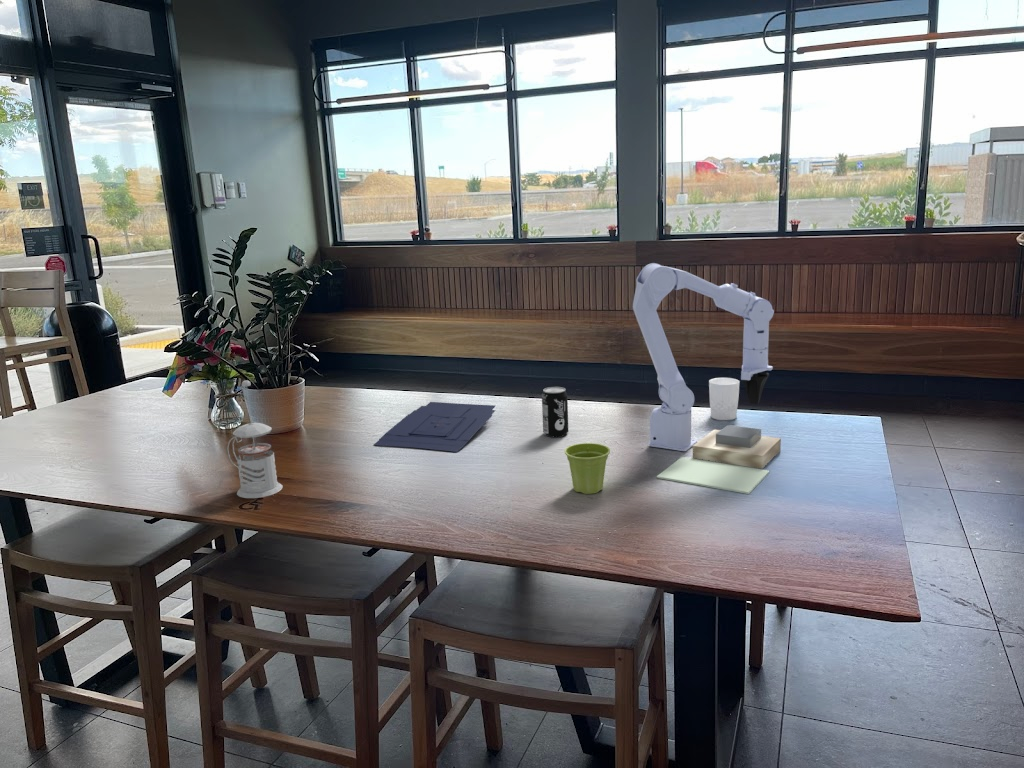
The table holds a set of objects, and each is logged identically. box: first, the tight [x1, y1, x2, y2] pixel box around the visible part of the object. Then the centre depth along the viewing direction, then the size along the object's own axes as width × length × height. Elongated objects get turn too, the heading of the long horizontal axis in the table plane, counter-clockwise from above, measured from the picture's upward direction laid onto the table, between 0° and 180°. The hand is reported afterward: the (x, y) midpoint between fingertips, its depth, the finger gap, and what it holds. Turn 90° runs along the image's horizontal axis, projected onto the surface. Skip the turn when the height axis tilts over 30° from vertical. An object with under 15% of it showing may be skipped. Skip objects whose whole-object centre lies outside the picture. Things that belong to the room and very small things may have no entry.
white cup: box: [708, 377, 741, 421], centre depth 209 cm, size 8×8×10 cm
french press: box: [226, 379, 283, 499], centre depth 170 cm, size 10×12×25 cm
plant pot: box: [564, 442, 611, 495], centre depth 162 cm, size 9×9×9 cm
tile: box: [716, 424, 762, 448], centre depth 180 cm, size 8×8×2 cm
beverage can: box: [541, 386, 569, 438], centre depth 200 cm, size 7×7×12 cm
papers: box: [373, 401, 497, 453], centre depth 208 cm, size 24×30×4 cm
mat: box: [656, 456, 770, 495], centre depth 168 cm, size 20×14×1 cm
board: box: [692, 428, 782, 470], centre depth 180 cm, size 16×14×3 cm
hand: (754, 402), depth 188 cm, fingers closed
